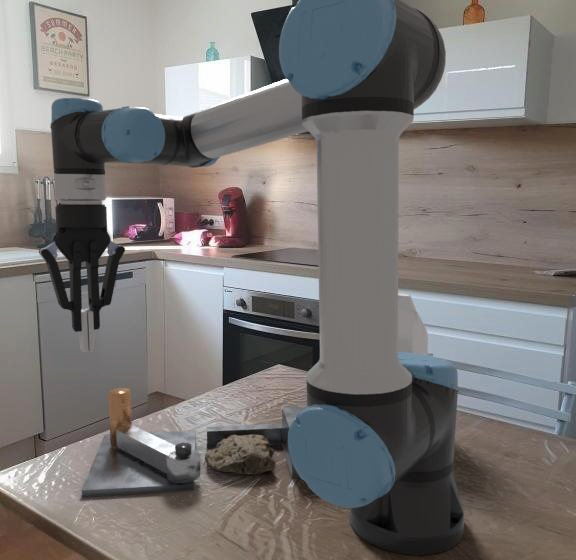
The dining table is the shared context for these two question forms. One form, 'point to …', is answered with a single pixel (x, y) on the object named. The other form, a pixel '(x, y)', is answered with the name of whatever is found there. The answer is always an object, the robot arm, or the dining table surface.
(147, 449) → the lever
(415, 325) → the milk
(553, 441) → the dining table surface
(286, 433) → the cracker base
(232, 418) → the dining table surface
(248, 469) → the rock
